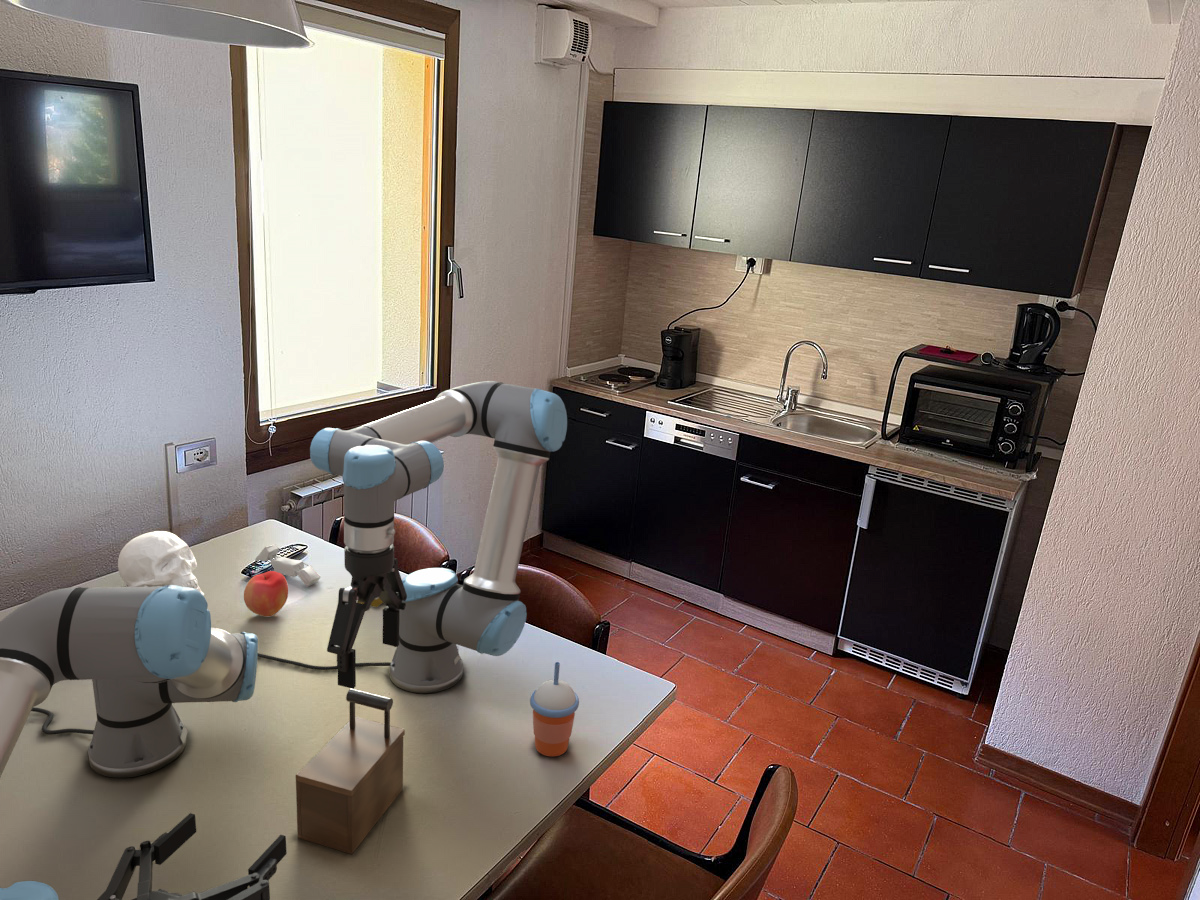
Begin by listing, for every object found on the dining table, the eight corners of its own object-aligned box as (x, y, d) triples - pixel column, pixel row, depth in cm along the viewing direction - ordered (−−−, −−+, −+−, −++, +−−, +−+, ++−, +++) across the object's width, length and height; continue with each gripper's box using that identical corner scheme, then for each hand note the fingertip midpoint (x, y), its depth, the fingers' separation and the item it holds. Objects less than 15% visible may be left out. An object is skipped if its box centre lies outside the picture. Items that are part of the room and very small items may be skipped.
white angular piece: (253, 565, 223) (254, 542, 221) (265, 560, 226) (266, 537, 224) (309, 593, 215) (310, 569, 213) (320, 588, 218) (321, 564, 216)
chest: (352, 775, 150) (352, 723, 147) (402, 789, 148) (403, 736, 145) (297, 837, 135) (295, 781, 132) (352, 854, 133) (351, 797, 130)
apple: (273, 600, 207) (272, 562, 204) (297, 613, 202) (296, 575, 199) (237, 614, 200) (234, 575, 197) (261, 628, 194) (259, 588, 191)
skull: (182, 617, 196) (179, 553, 192) (106, 597, 202) (101, 535, 198) (223, 594, 209) (221, 534, 205) (149, 577, 214) (146, 517, 210)
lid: (353, 721, 148) (353, 678, 145) (404, 734, 145) (405, 691, 143) (295, 780, 132) (294, 733, 130) (351, 796, 130) (351, 749, 127)
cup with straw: (568, 766, 157) (575, 680, 152) (521, 756, 158) (526, 671, 153) (580, 737, 165) (586, 655, 160) (534, 728, 167) (540, 646, 162)
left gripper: (19, 961, 95) (159, 837, 115) (210, 1019, 90) (323, 878, 110) (10, 904, 94) (155, 789, 114) (206, 960, 88) (321, 828, 108)
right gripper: (346, 581, 121) (348, 711, 127) (428, 521, 144) (426, 633, 150) (300, 571, 122) (303, 699, 129) (388, 513, 146) (387, 624, 152)
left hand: (238, 833), depth 112 cm, fingers open, 13 cm apart
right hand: (369, 664), depth 139 cm, fingers open, 13 cm apart
